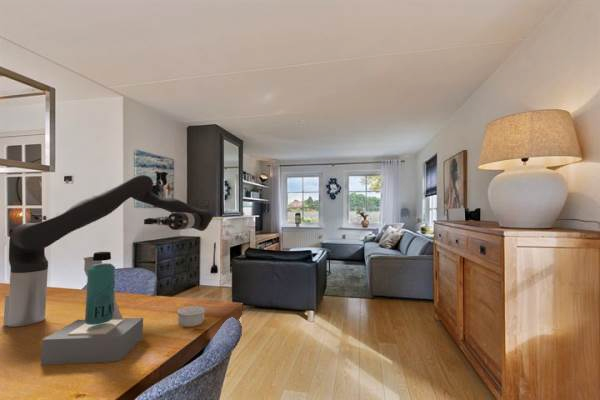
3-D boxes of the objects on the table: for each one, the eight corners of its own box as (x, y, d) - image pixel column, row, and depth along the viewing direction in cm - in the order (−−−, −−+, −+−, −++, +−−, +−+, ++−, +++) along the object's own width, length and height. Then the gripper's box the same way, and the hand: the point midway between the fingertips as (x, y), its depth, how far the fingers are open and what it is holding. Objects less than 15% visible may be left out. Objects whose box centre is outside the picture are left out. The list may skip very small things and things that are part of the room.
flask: (108, 324, 93) (110, 294, 93) (90, 322, 94) (92, 292, 95) (126, 316, 100) (127, 288, 101) (109, 315, 101) (110, 287, 102)
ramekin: (193, 316, 102) (193, 304, 102) (210, 321, 97) (210, 308, 97) (171, 324, 94) (171, 311, 94) (188, 330, 89) (189, 316, 90)
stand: (40, 364, 68) (42, 337, 68) (76, 340, 81) (78, 318, 81) (119, 361, 70) (120, 335, 70) (142, 338, 83) (143, 316, 83)
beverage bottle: (90, 332, 71) (94, 254, 72) (79, 327, 75) (83, 252, 76) (118, 324, 77) (121, 251, 78) (106, 319, 80) (109, 249, 81)
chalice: (92, 303, 114) (95, 259, 115) (76, 303, 114) (78, 258, 115) (105, 298, 121) (107, 256, 122) (90, 297, 122) (92, 256, 122)
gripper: (167, 212, 124) (138, 211, 108) (196, 212, 121) (170, 212, 105) (167, 229, 124) (138, 231, 108) (195, 229, 120) (169, 232, 105)
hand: (154, 221), depth 106 cm, fingers open, 8 cm apart
